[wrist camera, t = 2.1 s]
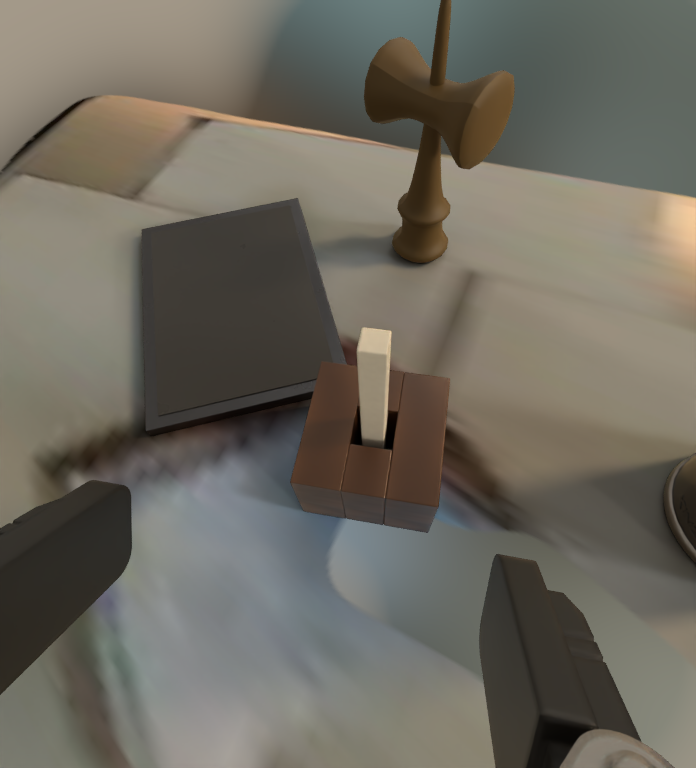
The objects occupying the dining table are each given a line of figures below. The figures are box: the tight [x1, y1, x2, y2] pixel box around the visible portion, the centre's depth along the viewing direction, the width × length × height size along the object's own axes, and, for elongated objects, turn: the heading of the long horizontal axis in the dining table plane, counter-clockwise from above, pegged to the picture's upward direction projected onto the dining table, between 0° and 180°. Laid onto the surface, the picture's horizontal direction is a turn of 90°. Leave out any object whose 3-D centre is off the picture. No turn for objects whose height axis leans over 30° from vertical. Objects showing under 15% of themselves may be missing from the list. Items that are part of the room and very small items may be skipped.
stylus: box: [357, 328, 391, 449], centre depth 28 cm, size 1×1×15 cm
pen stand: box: [290, 361, 450, 533], centre depth 31 cm, size 9×9×6 cm
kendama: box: [364, 0, 515, 263], centre depth 36 cm, size 6×10×20 cm, turn 47°
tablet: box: [142, 198, 347, 436], centre depth 42 cm, size 16×23×1 cm
